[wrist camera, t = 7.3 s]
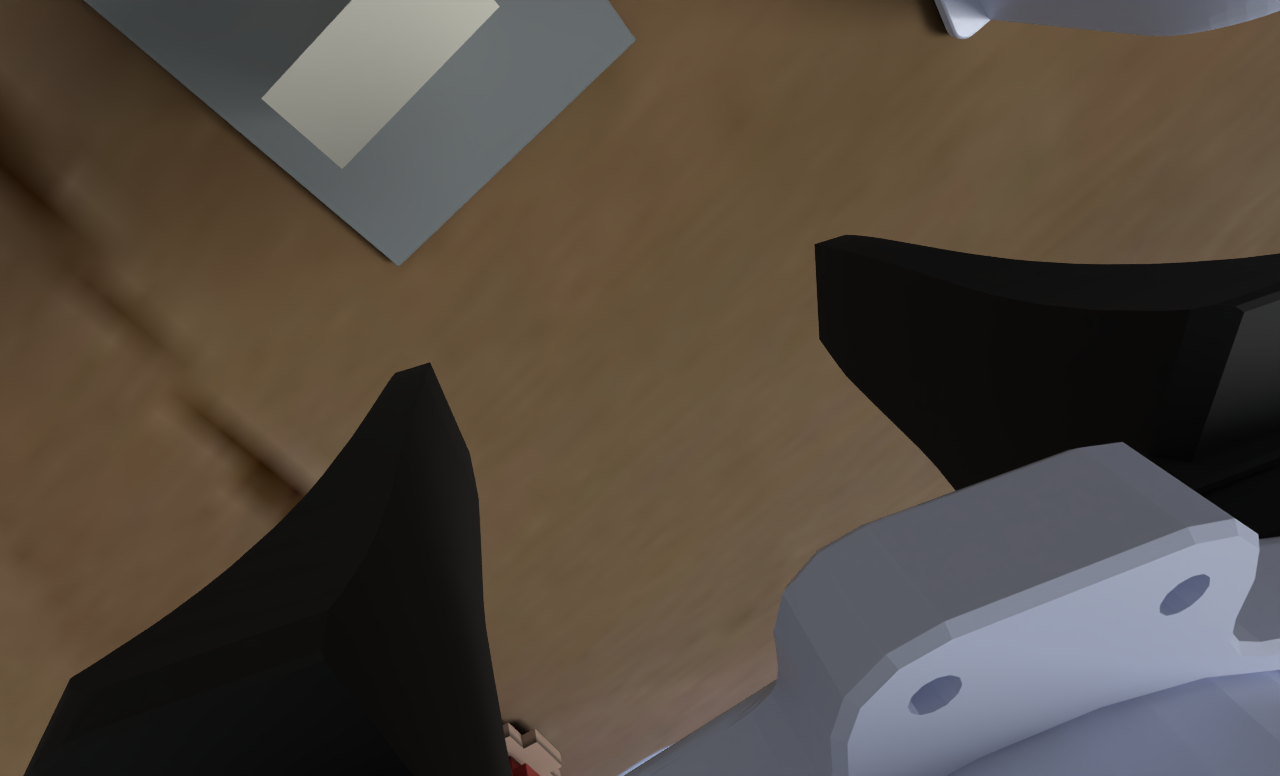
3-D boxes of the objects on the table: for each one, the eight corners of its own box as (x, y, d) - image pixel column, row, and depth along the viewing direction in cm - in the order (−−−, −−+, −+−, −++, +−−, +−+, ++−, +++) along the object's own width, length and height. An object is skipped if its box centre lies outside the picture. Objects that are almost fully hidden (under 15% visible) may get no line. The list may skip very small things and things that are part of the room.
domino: (475, -7, 17) (499, 6, 12) (363, 110, 17) (341, 169, 12) (422, -69, 16) (426, -82, 11) (307, 57, 16) (261, 98, 12)
